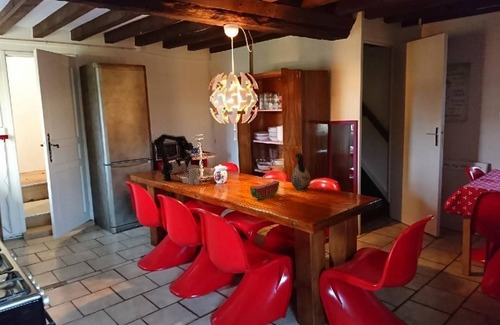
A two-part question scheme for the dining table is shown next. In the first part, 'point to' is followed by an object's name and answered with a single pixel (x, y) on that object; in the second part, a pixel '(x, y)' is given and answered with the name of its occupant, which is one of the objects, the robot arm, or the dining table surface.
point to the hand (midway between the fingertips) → (183, 167)
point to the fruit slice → (265, 190)
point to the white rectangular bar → (186, 180)
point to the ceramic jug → (300, 175)
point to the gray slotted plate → (192, 175)
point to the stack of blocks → (177, 168)
